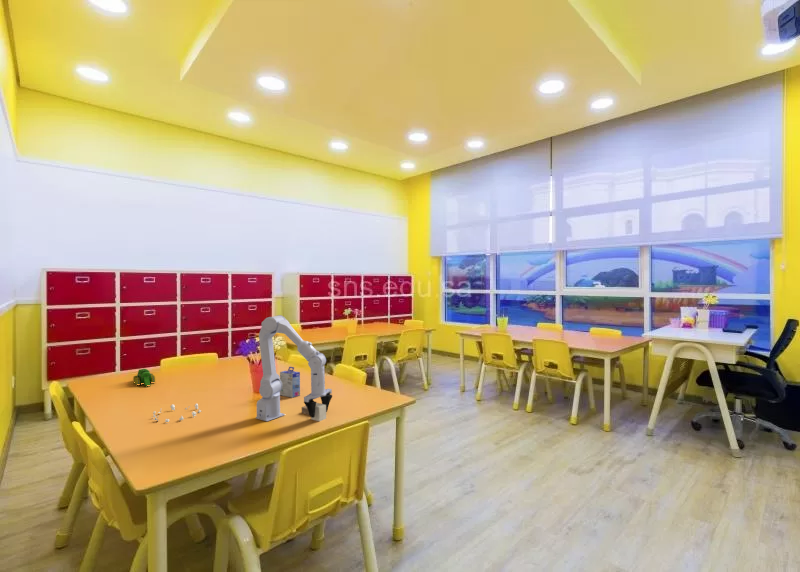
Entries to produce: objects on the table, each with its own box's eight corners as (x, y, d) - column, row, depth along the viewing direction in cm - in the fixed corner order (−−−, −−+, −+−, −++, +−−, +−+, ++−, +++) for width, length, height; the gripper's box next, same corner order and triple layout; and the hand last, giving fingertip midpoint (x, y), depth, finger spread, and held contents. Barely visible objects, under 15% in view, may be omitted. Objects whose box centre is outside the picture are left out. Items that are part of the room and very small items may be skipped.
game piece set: (155, 413, 181) (154, 404, 181) (203, 406, 189) (203, 398, 188) (146, 427, 163) (146, 418, 163) (200, 419, 171) (200, 411, 171)
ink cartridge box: (301, 395, 204) (300, 367, 203) (292, 398, 199) (292, 369, 199) (287, 392, 209) (287, 365, 209) (279, 395, 204) (278, 367, 204)
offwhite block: (319, 421, 165) (319, 407, 165) (311, 419, 168) (310, 405, 168) (326, 418, 169) (325, 404, 169) (317, 416, 171) (317, 402, 171)
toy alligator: (147, 376, 252) (147, 362, 252) (157, 386, 228) (157, 371, 227) (129, 379, 245) (129, 365, 245) (137, 389, 221) (137, 373, 221)
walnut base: (314, 417, 172) (314, 410, 172) (301, 413, 176) (301, 407, 176) (327, 411, 178) (327, 405, 178) (314, 408, 183) (314, 402, 183)
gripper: (312, 387, 160) (312, 421, 160) (336, 380, 172) (337, 410, 172) (300, 385, 164) (300, 418, 164) (324, 378, 176) (325, 408, 176)
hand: (318, 414), depth 168 cm, fingers open, 7 cm apart
